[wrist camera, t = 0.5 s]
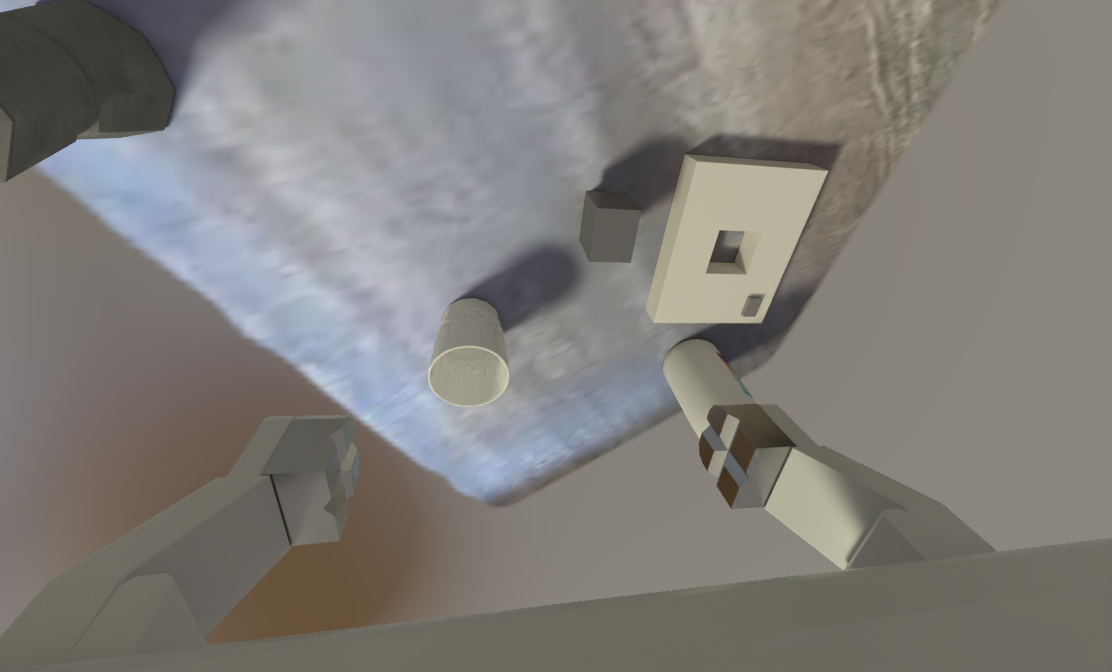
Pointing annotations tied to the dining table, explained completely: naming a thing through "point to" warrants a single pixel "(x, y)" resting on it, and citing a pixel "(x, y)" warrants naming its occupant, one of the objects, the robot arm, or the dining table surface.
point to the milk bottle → (702, 381)
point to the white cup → (469, 355)
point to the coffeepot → (74, 81)
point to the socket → (736, 205)
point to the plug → (609, 226)
